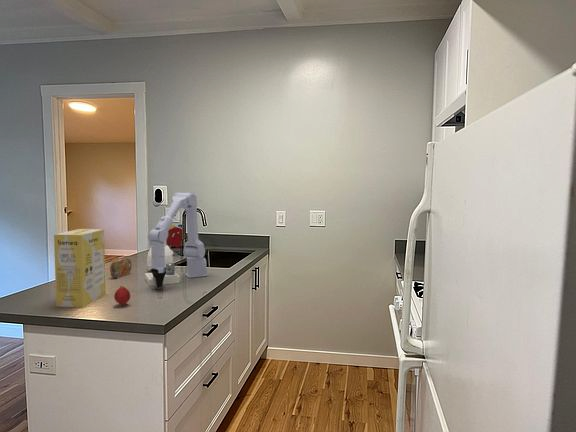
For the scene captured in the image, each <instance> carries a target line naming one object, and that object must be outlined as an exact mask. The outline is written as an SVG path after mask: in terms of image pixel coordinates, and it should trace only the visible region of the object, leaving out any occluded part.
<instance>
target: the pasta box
mask: <svg viewBox="0 0 576 432" xmlns="http://www.w3.org/2000/svg"><path fill="white" fill-rule="evenodd" d="M53 242H54V244H53V245H54V247H53V248H54V276H55V278H54V279H55V301H56V303H55V306H56V307H57V308H58V307H59V308H60V307H62V308H84V307H86V306H88V305H89V304H91V303H93V302H95V301H96V300H99V299H100V298H102V297H104V296H105V295H106V293H107V291H106V290H107V289H106V288H107V287H106V255H105V252H106V251H105V228H104V229H103V228H97V229H96V228H77V229H74V230H73V229H72V230H68V231H64V232H60V233H55V234H53Z"/></svg>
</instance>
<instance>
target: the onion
mask: <svg viewBox="0 0 576 432" xmlns="http://www.w3.org/2000/svg"><path fill="white" fill-rule="evenodd" d="M113 297H114V301H115V302H116V303H117V304H119V305H120V306H122V307H123V306H125V305H126V304H127V303H128V302H129V301H130V299H131V291H130V290H129V289H127V288H126V287H125V286H124V285H120V287H119V288H118V289H117V290H116V291H115V293H114V296H113Z"/></svg>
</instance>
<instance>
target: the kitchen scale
mask: <svg viewBox="0 0 576 432" xmlns="http://www.w3.org/2000/svg"><path fill="white" fill-rule="evenodd" d="M164 271H166V266H165V268H164V269H163V272H164ZM144 280H145V282H146V283H147V285H148V286H149V287H154V278H153V274H152V272H145V273H144ZM172 284H173V285H174V284H181V276H180V275H179V274H178V273H176V271H175V274H174V275H165V277H164V280H163V286H164V285H172Z"/></svg>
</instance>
